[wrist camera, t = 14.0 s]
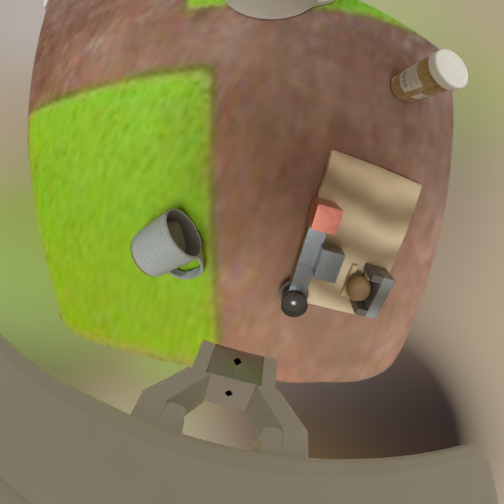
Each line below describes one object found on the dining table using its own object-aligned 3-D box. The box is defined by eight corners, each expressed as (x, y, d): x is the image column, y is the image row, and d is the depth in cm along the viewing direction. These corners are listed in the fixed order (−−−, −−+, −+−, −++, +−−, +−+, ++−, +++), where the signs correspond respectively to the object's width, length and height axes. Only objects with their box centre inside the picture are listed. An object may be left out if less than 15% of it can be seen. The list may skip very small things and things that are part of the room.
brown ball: (349, 268, 37) (355, 280, 33) (370, 274, 37) (377, 286, 33) (340, 290, 38) (344, 303, 35) (361, 295, 38) (367, 308, 35)
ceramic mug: (141, 229, 40) (116, 247, 33) (180, 201, 38) (158, 215, 31) (180, 283, 43) (162, 309, 36) (220, 260, 41) (207, 285, 34)
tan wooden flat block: (322, 147, 33) (329, 146, 28) (417, 184, 33) (435, 190, 28) (275, 296, 42) (274, 317, 37) (362, 317, 42) (369, 338, 37)
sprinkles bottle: (413, 108, 29) (466, 96, 16) (386, 93, 29) (433, 72, 16) (419, 83, 27) (471, 64, 15) (393, 68, 27) (439, 39, 15)
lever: (311, 195, 34) (316, 203, 29) (352, 207, 34) (363, 217, 29) (278, 302, 40) (277, 322, 35) (315, 310, 40) (318, 330, 35)
